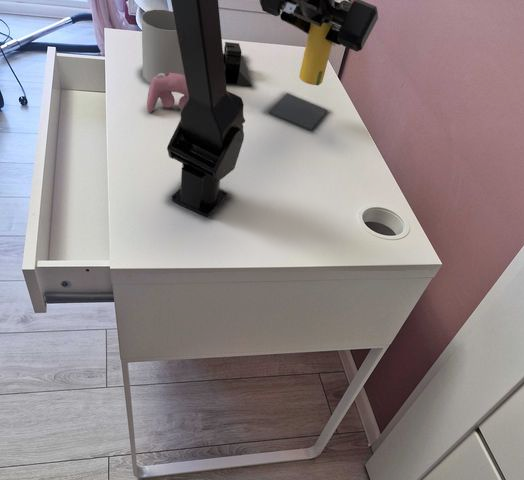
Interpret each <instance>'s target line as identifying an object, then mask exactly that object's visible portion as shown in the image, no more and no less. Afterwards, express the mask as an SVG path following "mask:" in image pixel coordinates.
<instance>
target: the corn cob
mask: <svg viewBox="0 0 524 480" xmlns="http://www.w3.org/2000/svg"><path fill="white" fill-rule="evenodd" d="M334 8H335V7H334ZM336 9H337V8H336ZM331 26H332V24H331V25H329V26H328V25H326V24H322V26H321V27H319V26H317V25H315V24H312V23H311V25H310V30H309V34H307V39H306V44H305V47H304V51H303V57H302V61H301V65H300V69H299V70H300V71H299V75H298V77H299V79H300V80H301V81H302V82H303V83H305V84H308V85H311V86H320V85H322V83H323V81H324V77H325V74H326V70H327V67H328V66H327V65H328V63H329V62H328V61H329V58H330V55H331V51H332V46H333V45H331V44H330V43H329V42H328V41H327V40H326V39H325V37H326V35H327V33H328V32H329V30H330V28H331Z"/></svg>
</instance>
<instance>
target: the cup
mask: <svg viewBox="0 0 524 480" xmlns="http://www.w3.org/2000/svg"><path fill="white" fill-rule="evenodd" d="M141 45H142V46H141V47H142V49H141V51H142V53H141V54H142V78H143V79H144V81H146V82H147V83H148V84H151V81H152V79H153V78H154V77H155V76H156V75H158V74H160V73H177V74H182V75H185V74H184V69H183V64H182V58H181V53H180V47H179V42H178V36H177V31H176V25H175V20H174V15H173V10H168V9H151V10H145V11H144V12H143V13H142V14H141Z"/></svg>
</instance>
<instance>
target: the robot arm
mask: <svg viewBox="0 0 524 480" xmlns="http://www.w3.org/2000/svg"><path fill="white" fill-rule="evenodd" d="M258 1H259V4H260V7H261V9H262V11H263V12H265V13H267V14H268V15H272V16H274V17H279V18H280V20H281V21H282V22H285V23H286V24H288V25H290V26H292V27H294V28H296V29H297V30H299V31H301V32H303V33H305V34H306V35H308V34H309V30H310V25H311V23H312V24H315V25H317V26H319V27H321V26H322V24H326V25H328V26H329V25H331V24H332V26H331V28H330V30H329V32H328V33H327V35H326V37H325V39H326V40H327V41H328V42H329V43H330V44H331V45H332V46H333V47H335V46H336V45H337V46H341V45H342V46H343V47H345V48H347V49H350V50H351V51H354V52H356V53H357V52H360V51H362V50H363V48H364V46H365V44H366V42H367V40H368V39H369V36H370V35H371V33H372V31H373V29H374V27H375V25H376V24H377V21H378V20H379V12H378V8H377V6H376V5H373V4H371V3H369V2H366V1H364V0H353V1H352V2H351V1H349V0H341V1H340V2H338V1H336V0H258ZM170 3H171V8H172V12H173V15H174V20H175V25H176V31H177V36H178V42H179V47H180V53H181V58H182V64H183V69H184V74H185V80H186V85H187V91H188V100H187V101H186V103H185V105H184V106H183V108H182V109H180V111H179V115H180V120H179V122H178V124H177V125H176V127H175V130H174V132H173V134H172V136H171V138H170V141H169V143H168V144H167V147H166V150H167V153H168V157H169V158H170V159H172V160H175V161H177V162H179V163H181V174H180V175H181V176H180V177H181V178H180V188H179V189H178V190H177V191H175V193H174V194H172V195H171V201H172V202H174V203H175V204H178V205H180V206H183V207H185V208H187V209H189V210H191V211H194V212H196V213H197V214H200V215H201V216H204V217H209V216H210V215H211V214H212V213H213V212H214V211H215V210H216V209H217V208H218V207H219V206H220V204H221V203H222V202H223V201H224V200H225V199H226V198H227V197H228V192H226V191H225V190H222V189H220V185H221V181H222V180H223V179H224V178H225V177H227V176H228V175H229V174H230V173H231V172H233V171H234V170H235V168H236V165H237V162H238V159H239V156H240V152H241V149H242V146H243V143H244V139H245V132H244V124H245V122H246V119H245V117H244V102H243V98H242V97H240V96H238V95H237V94H234V93H233V92H231V91H229V90H227V85H226V79H225V69H224V58H223V54H224V46H223V39H222V38H223V37H222V28H221V27H222V26H221V16H220V6H219V5H220V4H219V0H170ZM334 7H335V8H334ZM336 8H337V9H336Z"/></svg>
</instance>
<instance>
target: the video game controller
mask: <svg viewBox="0 0 524 480" xmlns="http://www.w3.org/2000/svg"><path fill="white" fill-rule="evenodd" d="M147 91H148V92H147V98H146V109H147V112H148V113H152V112H153V111H154V109H155V108H156V105H157V103H158V101H159V99H160V101H161V104H162V106H164V108H172V107H173V106H174V105H175V103H176V100H175V96H174V94H173V93H178V94H182V95H183V96H181V97H180V98H179V100H178V107H179V109H180V110H181V109H182V108H183V106H184V105H185V103H186V101H187V100H188V91H187V85H186V80H185V75H182V74H177V73H160V74H158V75H156V76H155V77H154V78H153V79H152V81H151V83H149V87H148V90H147Z"/></svg>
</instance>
